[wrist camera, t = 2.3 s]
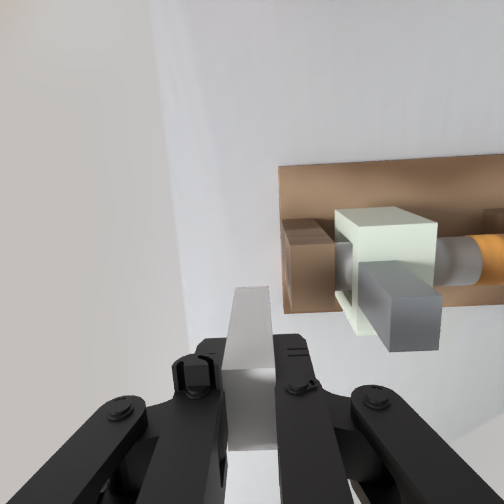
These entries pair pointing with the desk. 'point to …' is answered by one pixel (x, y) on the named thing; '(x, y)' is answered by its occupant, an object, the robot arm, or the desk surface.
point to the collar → (391, 277)
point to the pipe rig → (404, 197)
